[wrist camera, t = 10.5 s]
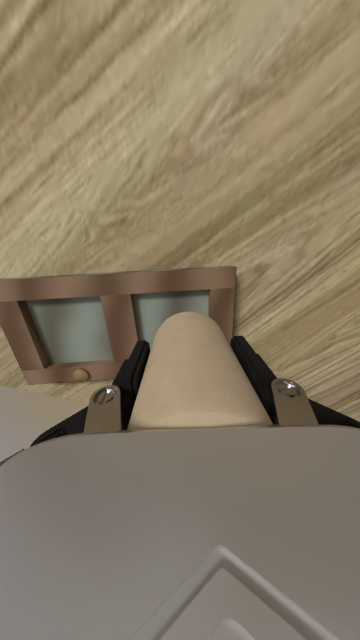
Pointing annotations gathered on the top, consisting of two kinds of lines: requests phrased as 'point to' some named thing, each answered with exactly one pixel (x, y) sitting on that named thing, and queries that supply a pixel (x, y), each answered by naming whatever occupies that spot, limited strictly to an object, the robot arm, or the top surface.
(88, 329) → the divided tray
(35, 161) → the top surface
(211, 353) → the candle
